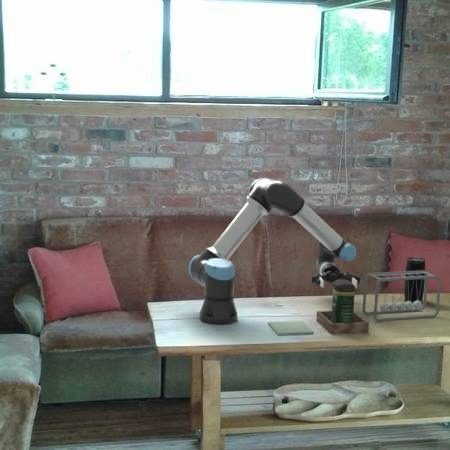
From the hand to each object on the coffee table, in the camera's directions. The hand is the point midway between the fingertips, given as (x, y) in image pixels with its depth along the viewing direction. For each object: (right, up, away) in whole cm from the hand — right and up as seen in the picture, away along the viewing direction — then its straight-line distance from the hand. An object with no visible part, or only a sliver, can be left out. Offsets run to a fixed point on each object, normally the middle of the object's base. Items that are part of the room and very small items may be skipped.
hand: (339, 284), depth 281 cm
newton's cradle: (+26, -14, +7) cm, 31 cm away
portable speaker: (+38, -10, +30) cm, 49 cm away
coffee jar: (-1, -16, -9) cm, 18 cm away
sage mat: (-21, -16, -14) cm, 30 cm away
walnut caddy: (-1, -16, -9) cm, 18 cm away
